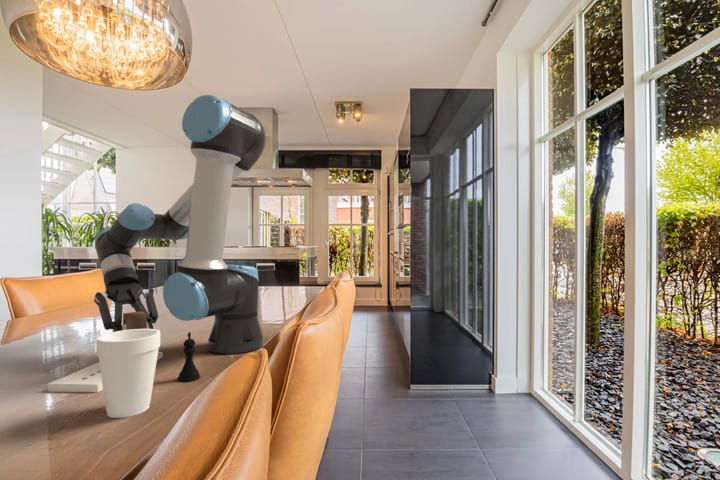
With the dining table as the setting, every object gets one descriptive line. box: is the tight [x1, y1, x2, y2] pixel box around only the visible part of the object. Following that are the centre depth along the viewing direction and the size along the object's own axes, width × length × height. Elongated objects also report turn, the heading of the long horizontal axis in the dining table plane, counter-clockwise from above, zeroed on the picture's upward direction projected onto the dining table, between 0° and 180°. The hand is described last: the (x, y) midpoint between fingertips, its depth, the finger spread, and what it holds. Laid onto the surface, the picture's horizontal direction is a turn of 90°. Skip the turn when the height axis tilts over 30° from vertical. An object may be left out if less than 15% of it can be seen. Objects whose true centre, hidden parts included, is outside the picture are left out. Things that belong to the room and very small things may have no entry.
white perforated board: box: [47, 351, 164, 393], centre depth 82 cm, size 10×22×2 cm, turn 178°
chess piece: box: [177, 331, 201, 383], centre depth 78 cm, size 4×4×10 cm
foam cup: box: [96, 328, 161, 419], centre depth 63 cm, size 10×9×13 cm
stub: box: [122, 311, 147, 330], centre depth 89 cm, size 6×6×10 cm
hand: (139, 348), depth 87 cm, fingers closed on stub, 4 cm apart
